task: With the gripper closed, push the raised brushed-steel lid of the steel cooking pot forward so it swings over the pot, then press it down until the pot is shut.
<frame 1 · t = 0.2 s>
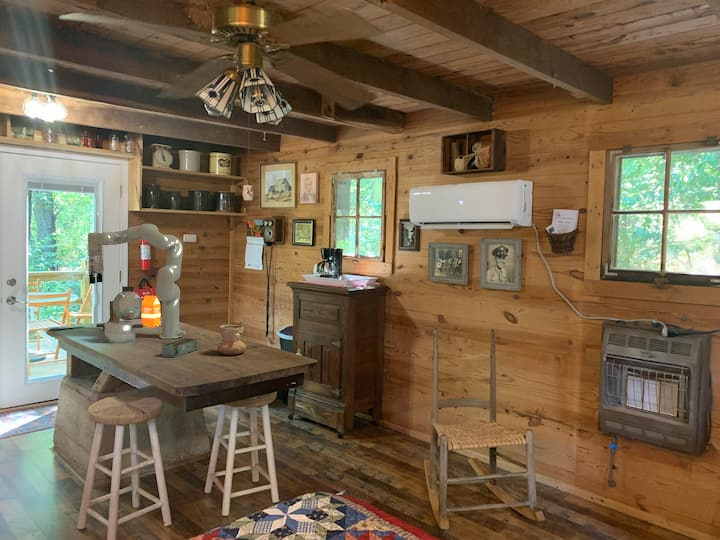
hand: (96, 282, 323), 31 cm above the table, tool pointing down, fingers open, 9 cm apart
pot: (120, 340, 312), on the table
orange juice: (151, 326, 360), on the table
wooden block: (111, 330, 343), on the table
lid: (128, 303, 321), point 20 cm above the table, hinge at 95.0°
ceramic jug: (231, 353, 284), on the table
grey-green rectangular block: (180, 354, 283), on the table
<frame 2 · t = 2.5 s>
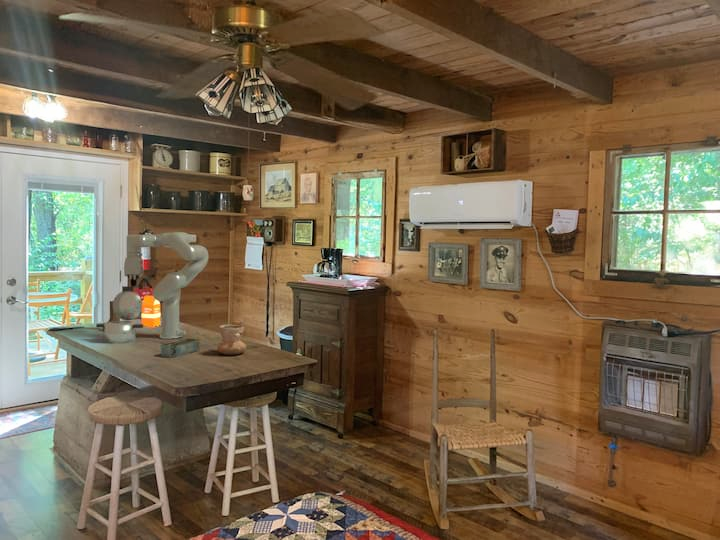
hand: (133, 286, 329), 29 cm above the table, tool pointing down, fingers closed
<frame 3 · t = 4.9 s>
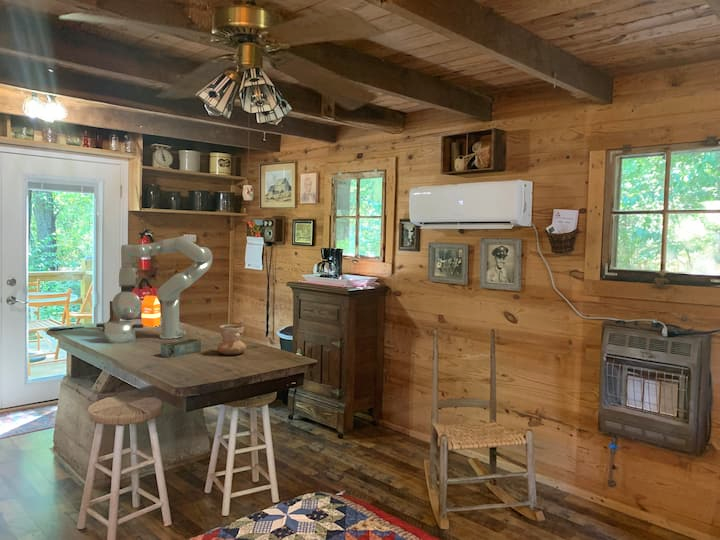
hand: (128, 297, 322), 23 cm above the table, tool pointing down, fingers closed
lid: (127, 303, 321), point 20 cm above the table, hinge at 89.4°, touching gripper
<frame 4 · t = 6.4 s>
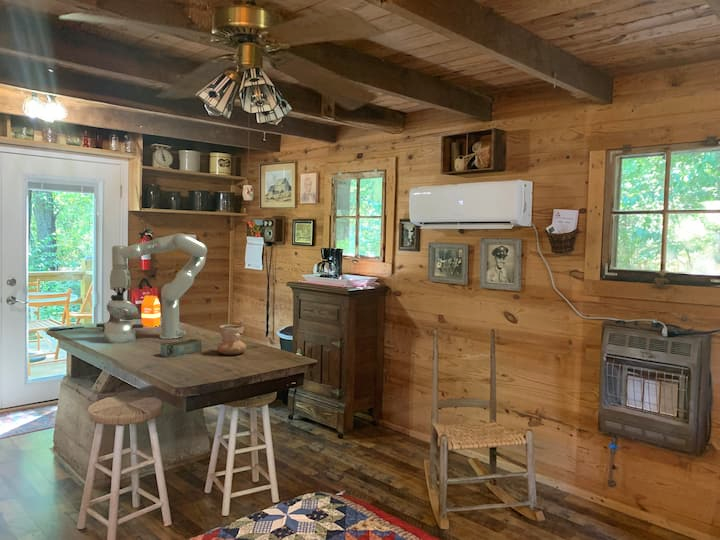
hand: (120, 300, 311), 23 cm above the table, tool pointing down, fingers closed
lid: (122, 306, 314), point 19 cm above the table, hinge at 49.7°
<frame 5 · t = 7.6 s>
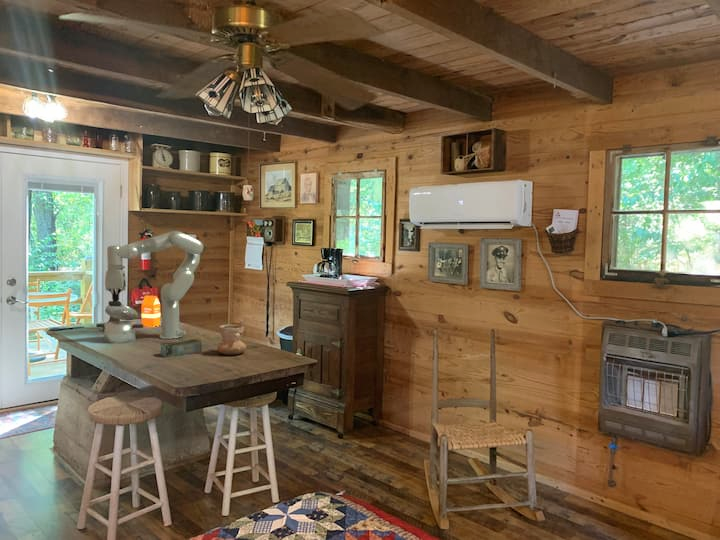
hand: (115, 301, 305), 23 cm above the table, tool pointing down, fingers closed
lid: (121, 309, 312), point 18 cm above the table, hinge at 36.6°, touching gripper
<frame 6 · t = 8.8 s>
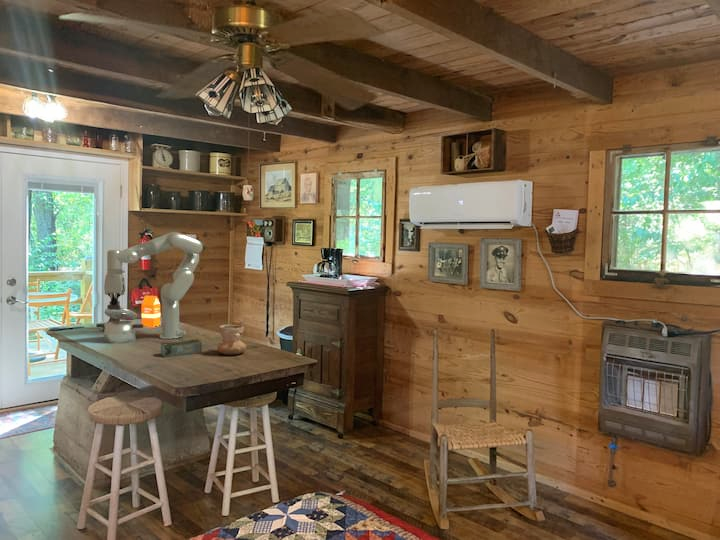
hand: (114, 305, 305), 21 cm above the table, tool pointing down, fingers closed
lid: (120, 311, 311), point 17 cm above the table, hinge at 29.6°, touching gripper
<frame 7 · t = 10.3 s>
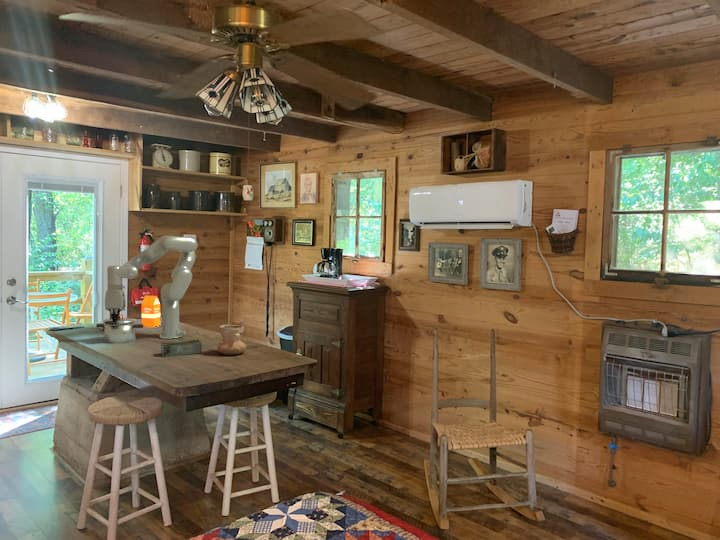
hand: (115, 320, 306), 12 cm above the table, tool pointing down, fingers closed
lid: (118, 319, 310), point 13 cm above the table, hinge at 2.4°, touching gripper
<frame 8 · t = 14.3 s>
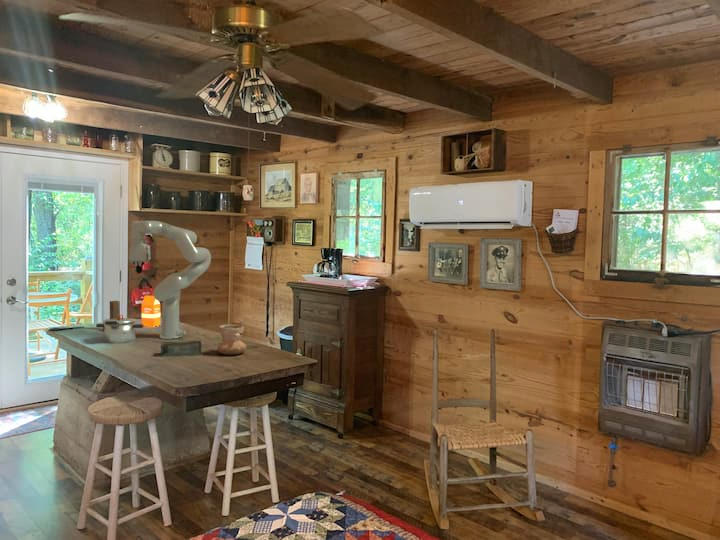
hand: (139, 273, 326), 37 cm above the table, tool pointing down, fingers closed
lid: (118, 319, 310), point 12 cm above the table, hinge at 2.2°
at the end: lid at +2° (first picture: +95°) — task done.
